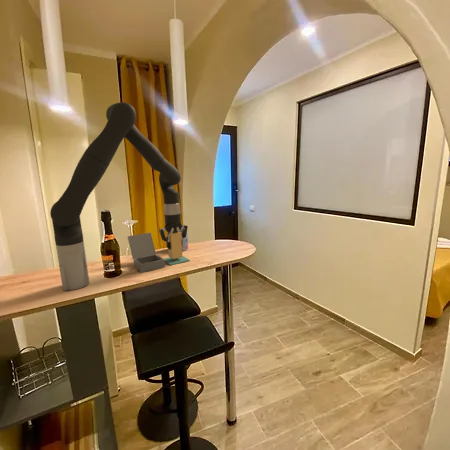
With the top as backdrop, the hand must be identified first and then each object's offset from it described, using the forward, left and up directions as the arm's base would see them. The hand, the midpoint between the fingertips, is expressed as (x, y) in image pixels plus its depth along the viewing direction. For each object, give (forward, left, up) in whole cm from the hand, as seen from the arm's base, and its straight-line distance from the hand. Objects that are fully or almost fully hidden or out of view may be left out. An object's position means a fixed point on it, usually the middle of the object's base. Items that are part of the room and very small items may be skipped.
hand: (174, 247), depth 130 cm
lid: (-13, +9, +2) cm, 16 cm away
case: (-13, 0, -6) cm, 14 cm away
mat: (0, 0, -6) cm, 6 cm away
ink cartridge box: (+9, +17, -7) cm, 20 cm away
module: (0, 0, -4) cm, 4 cm away
